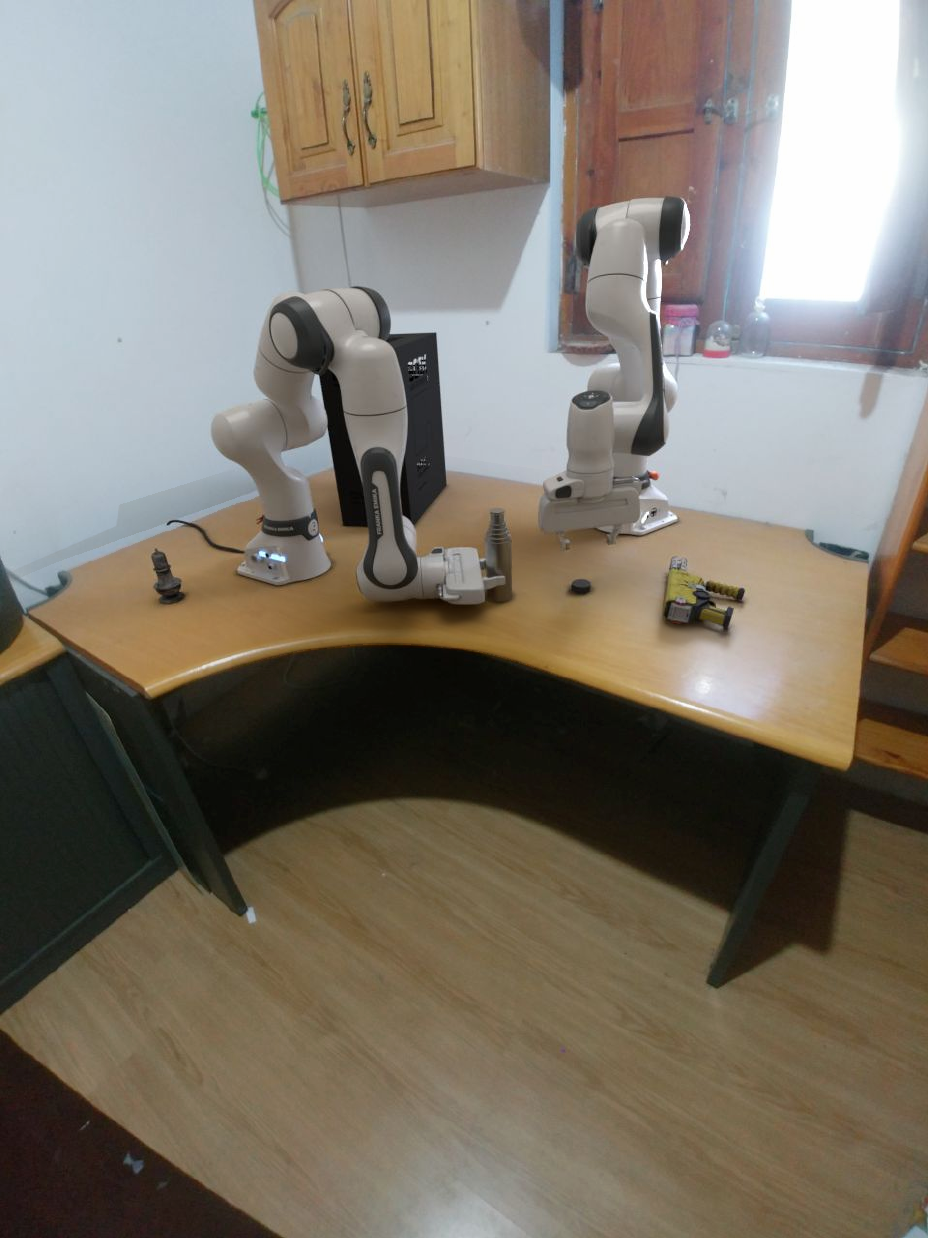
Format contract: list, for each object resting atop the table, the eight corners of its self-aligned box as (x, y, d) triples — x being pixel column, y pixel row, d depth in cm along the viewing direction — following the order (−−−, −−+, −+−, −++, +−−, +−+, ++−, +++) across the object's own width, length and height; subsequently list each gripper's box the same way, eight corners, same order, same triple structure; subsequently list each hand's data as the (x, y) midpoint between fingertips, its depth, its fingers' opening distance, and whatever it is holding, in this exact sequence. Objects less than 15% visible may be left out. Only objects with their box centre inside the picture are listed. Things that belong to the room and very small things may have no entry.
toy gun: (744, 566, 127) (671, 553, 131) (753, 616, 107) (666, 600, 111) (738, 586, 129) (666, 573, 133) (745, 639, 109) (660, 622, 113)
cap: (576, 583, 131) (577, 577, 130) (593, 588, 129) (594, 581, 128) (568, 591, 128) (568, 584, 127) (585, 595, 126) (585, 589, 125)
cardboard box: (411, 527, 164) (393, 348, 142) (343, 525, 169) (314, 350, 146) (446, 484, 196) (436, 332, 173) (387, 483, 200) (370, 334, 178)
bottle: (515, 593, 129) (515, 507, 119) (506, 604, 125) (504, 516, 115) (493, 589, 131) (490, 504, 121) (482, 599, 127) (479, 513, 117)
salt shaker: (175, 604, 132) (159, 554, 126) (152, 603, 133) (134, 553, 127) (191, 592, 137) (176, 543, 131) (168, 591, 138) (152, 542, 132)
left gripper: (436, 586, 114) (509, 580, 114) (434, 543, 132) (497, 539, 132) (438, 614, 117) (509, 609, 118) (436, 569, 135) (498, 565, 135)
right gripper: (636, 470, 120) (632, 534, 127) (535, 482, 119) (537, 545, 126) (647, 480, 114) (643, 546, 121) (541, 492, 114) (543, 558, 121)
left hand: (503, 572), depth 125 cm, fingers closed on bottle, 5 cm apart
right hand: (588, 546), depth 124 cm, fingers open, 8 cm apart
